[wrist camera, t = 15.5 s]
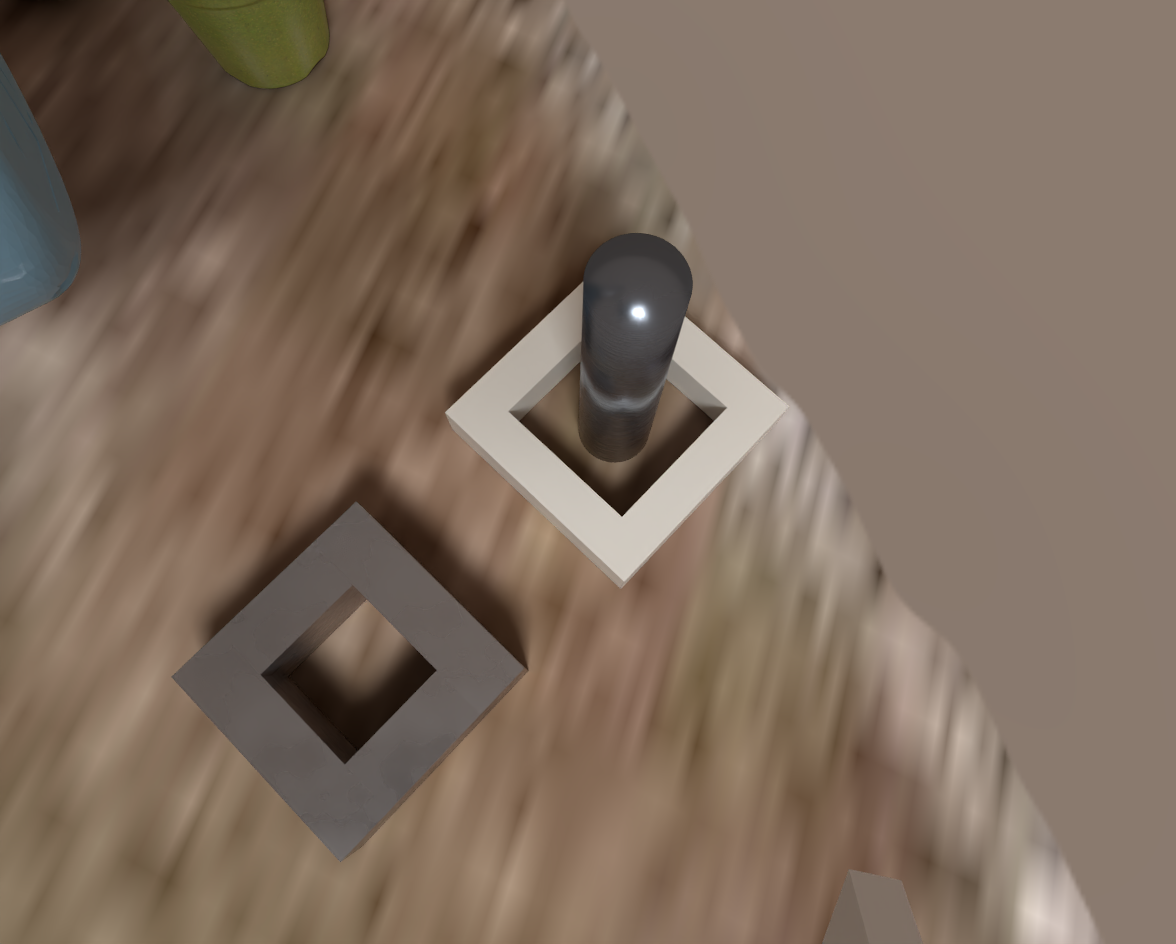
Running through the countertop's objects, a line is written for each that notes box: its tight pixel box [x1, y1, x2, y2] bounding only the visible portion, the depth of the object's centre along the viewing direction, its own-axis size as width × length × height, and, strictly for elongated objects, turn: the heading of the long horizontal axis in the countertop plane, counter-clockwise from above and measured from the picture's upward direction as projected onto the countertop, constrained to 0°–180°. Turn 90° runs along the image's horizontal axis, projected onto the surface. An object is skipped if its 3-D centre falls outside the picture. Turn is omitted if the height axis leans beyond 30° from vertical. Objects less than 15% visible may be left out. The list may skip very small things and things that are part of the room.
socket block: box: [172, 502, 528, 862], centre depth 36 cm, size 10×10×4 cm
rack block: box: [445, 282, 789, 589], centre depth 40 cm, size 11×11×2 cm
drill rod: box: [579, 233, 693, 462], centre depth 34 cm, size 3×3×15 cm
